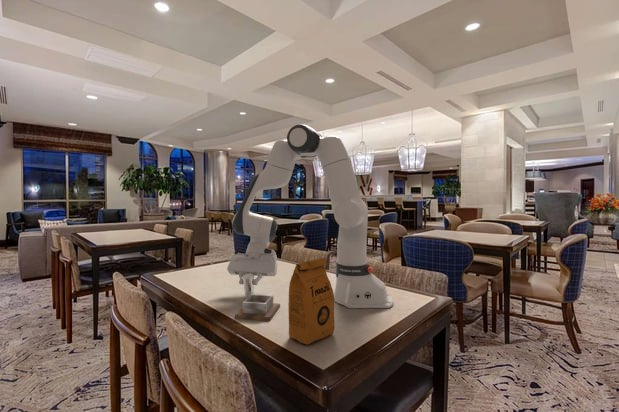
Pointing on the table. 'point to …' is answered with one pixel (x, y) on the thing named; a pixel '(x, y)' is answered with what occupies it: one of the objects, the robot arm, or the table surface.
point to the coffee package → (310, 302)
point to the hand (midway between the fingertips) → (247, 284)
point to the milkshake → (248, 284)
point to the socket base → (258, 308)
